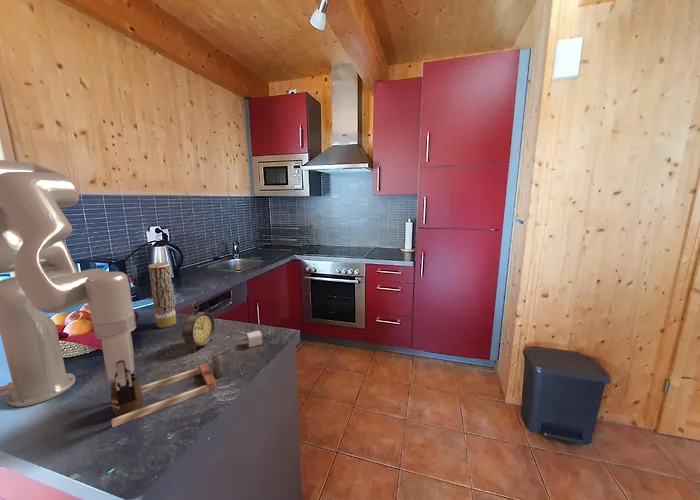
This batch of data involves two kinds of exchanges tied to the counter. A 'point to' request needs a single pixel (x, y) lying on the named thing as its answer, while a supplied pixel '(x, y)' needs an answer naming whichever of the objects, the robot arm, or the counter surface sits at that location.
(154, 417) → the counter surface
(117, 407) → the utensil holder
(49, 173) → the robot arm
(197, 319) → the alarm clock
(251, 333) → the usb wall charger
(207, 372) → the guide channel
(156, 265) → the paper tube
